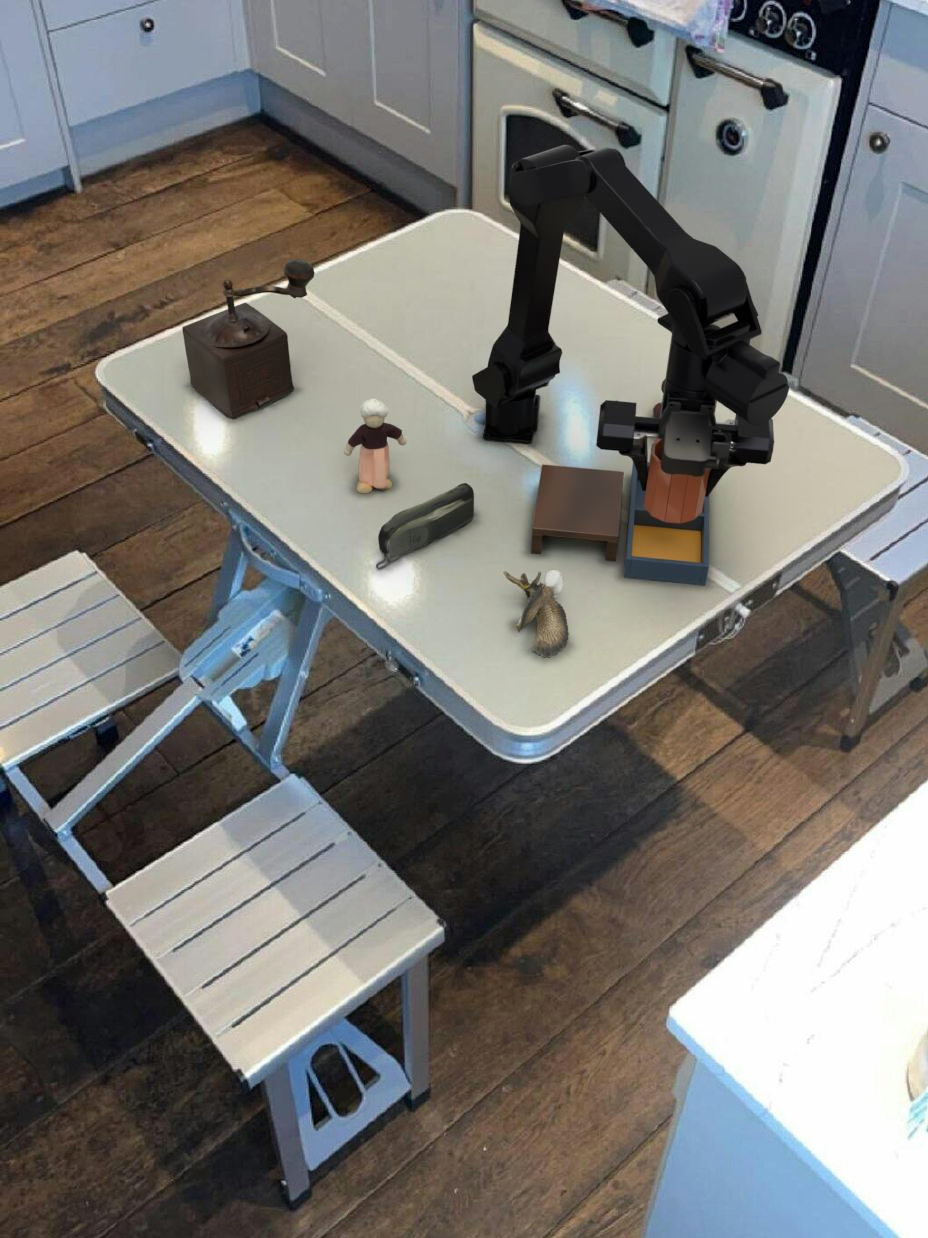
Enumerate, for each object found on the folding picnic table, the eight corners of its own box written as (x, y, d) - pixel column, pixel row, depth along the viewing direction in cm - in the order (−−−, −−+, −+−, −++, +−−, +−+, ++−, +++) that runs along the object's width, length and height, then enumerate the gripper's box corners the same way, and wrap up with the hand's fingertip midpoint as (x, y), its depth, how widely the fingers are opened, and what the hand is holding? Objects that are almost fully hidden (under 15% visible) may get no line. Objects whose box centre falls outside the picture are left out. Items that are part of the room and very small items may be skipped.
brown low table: (530, 553, 152) (532, 527, 150) (540, 489, 161) (542, 463, 158) (615, 561, 152) (618, 536, 149) (620, 496, 160) (623, 471, 157)
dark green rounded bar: (463, 476, 155) (365, 528, 148) (480, 488, 153) (381, 541, 146) (462, 508, 158) (366, 560, 151) (478, 520, 157) (382, 573, 149)
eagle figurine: (484, 599, 145) (502, 644, 138) (518, 549, 142) (538, 593, 135) (539, 621, 149) (559, 667, 141) (573, 573, 146) (595, 617, 138)
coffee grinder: (233, 423, 170) (215, 303, 157) (189, 385, 176) (168, 267, 163) (329, 380, 177) (319, 262, 164) (283, 345, 183) (271, 228, 170)
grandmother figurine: (356, 502, 159) (350, 418, 150) (343, 484, 161) (337, 400, 152) (412, 484, 161) (410, 400, 152) (399, 467, 164) (396, 383, 155)
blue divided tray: (623, 577, 150) (626, 558, 148) (630, 479, 162) (633, 460, 160) (705, 585, 149) (709, 566, 147) (706, 486, 162) (709, 467, 159)
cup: (642, 520, 145) (650, 467, 140) (645, 483, 150) (652, 431, 144) (701, 525, 144) (711, 473, 139) (702, 488, 149) (711, 436, 144)
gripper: (599, 413, 130) (587, 530, 141) (787, 430, 128) (759, 547, 139) (605, 351, 138) (594, 467, 149) (783, 367, 136) (757, 482, 147)
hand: (674, 491), depth 146 cm, fingers closed on cup, 6 cm apart
